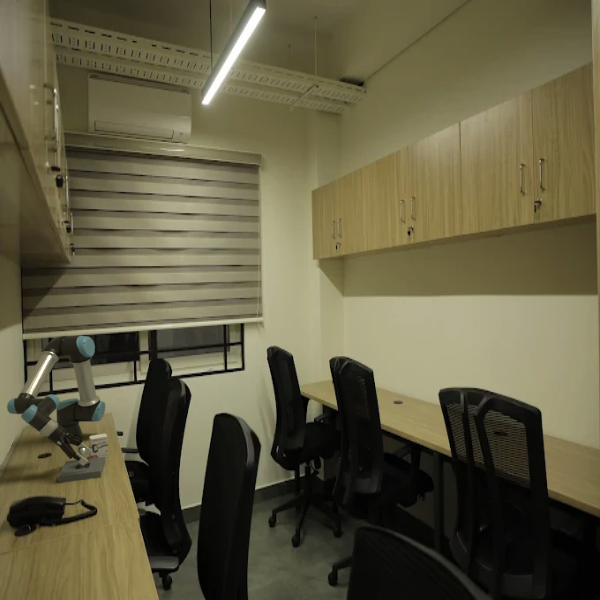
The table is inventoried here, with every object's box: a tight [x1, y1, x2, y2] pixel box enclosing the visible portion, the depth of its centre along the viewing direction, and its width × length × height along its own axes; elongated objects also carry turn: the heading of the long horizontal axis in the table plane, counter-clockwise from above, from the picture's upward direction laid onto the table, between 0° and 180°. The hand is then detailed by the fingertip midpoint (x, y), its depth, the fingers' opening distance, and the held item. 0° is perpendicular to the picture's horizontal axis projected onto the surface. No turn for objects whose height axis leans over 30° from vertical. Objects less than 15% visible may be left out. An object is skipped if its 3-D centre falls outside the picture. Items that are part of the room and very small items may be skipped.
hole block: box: [57, 457, 106, 483], centre depth 213 cm, size 18×18×3 cm
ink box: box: [88, 433, 109, 459], centre depth 231 cm, size 8×5×12 cm, turn 123°
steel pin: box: [77, 445, 88, 469], centre depth 213 cm, size 4×4×12 cm
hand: (88, 458), depth 214 cm, fingers open, 13 cm apart
